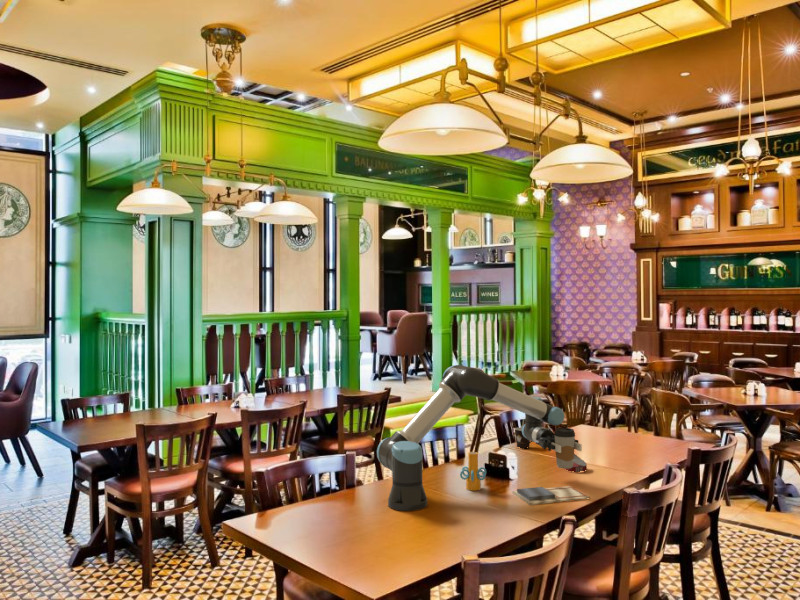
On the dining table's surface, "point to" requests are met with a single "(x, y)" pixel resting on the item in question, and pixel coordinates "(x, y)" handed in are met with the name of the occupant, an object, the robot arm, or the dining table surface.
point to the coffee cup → (565, 447)
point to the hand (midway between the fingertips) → (570, 448)
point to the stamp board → (558, 493)
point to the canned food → (578, 465)
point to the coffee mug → (521, 439)
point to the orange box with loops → (473, 473)
